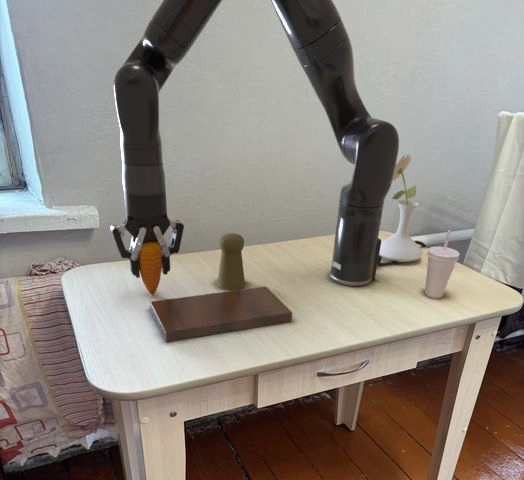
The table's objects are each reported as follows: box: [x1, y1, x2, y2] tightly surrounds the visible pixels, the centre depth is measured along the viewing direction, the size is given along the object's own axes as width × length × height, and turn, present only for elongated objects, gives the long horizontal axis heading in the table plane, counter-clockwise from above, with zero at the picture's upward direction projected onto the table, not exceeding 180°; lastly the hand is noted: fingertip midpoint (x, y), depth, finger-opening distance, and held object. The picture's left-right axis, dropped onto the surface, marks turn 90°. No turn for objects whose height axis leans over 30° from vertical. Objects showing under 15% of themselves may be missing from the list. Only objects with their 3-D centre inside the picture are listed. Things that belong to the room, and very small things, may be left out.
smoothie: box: [424, 229, 461, 299], centre depth 105 cm, size 6×6×14 cm
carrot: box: [137, 230, 162, 296], centre depth 99 cm, size 5×5×15 cm
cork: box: [216, 232, 246, 291], centre depth 106 cm, size 6×6×11 cm
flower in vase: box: [379, 153, 423, 263], centre depth 121 cm, size 13×11×25 cm
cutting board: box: [149, 285, 293, 343], centre depth 95 cm, size 24×12×2 cm, turn 113°
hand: (151, 274), depth 101 cm, fingers closed on carrot, 5 cm apart
